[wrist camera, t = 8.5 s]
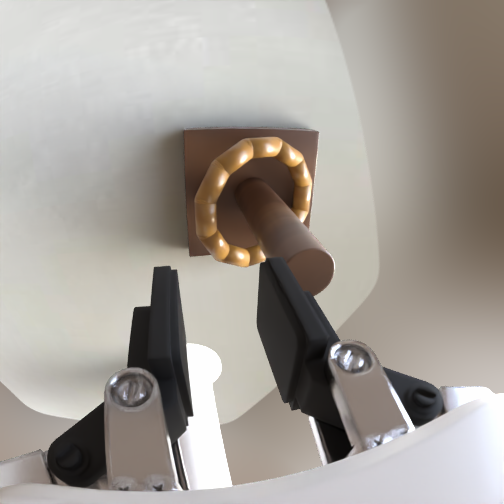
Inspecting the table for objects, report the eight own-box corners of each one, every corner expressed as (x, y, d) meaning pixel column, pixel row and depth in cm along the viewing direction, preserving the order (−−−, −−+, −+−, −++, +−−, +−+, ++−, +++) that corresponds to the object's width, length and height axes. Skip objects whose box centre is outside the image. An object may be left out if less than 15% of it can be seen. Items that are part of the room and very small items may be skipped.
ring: (188, 142, 15) (198, 145, 14) (307, 134, 19) (320, 137, 18) (196, 275, 19) (204, 285, 18) (296, 243, 23) (307, 250, 22)
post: (184, 128, 18) (184, 163, 9) (312, 129, 20) (418, 169, 10) (189, 248, 22) (201, 365, 13) (301, 240, 24) (371, 335, 15)
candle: (153, 384, 29) (180, 606, 8) (152, 340, 26) (182, 619, 5) (215, 385, 31) (269, 596, 10) (225, 343, 28) (300, 602, 7)
